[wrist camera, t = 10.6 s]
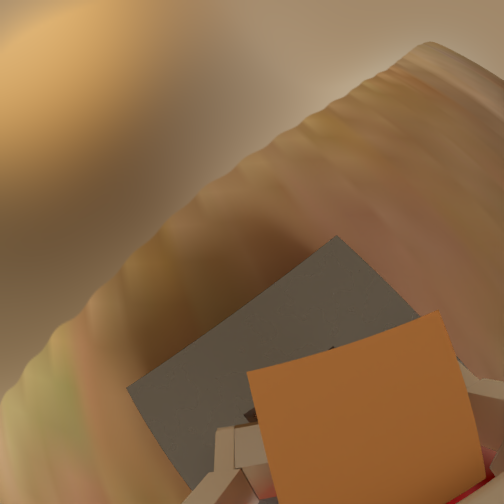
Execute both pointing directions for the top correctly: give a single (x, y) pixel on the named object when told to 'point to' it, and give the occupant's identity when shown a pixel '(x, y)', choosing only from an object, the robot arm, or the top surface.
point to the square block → (371, 421)
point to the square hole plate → (262, 351)
